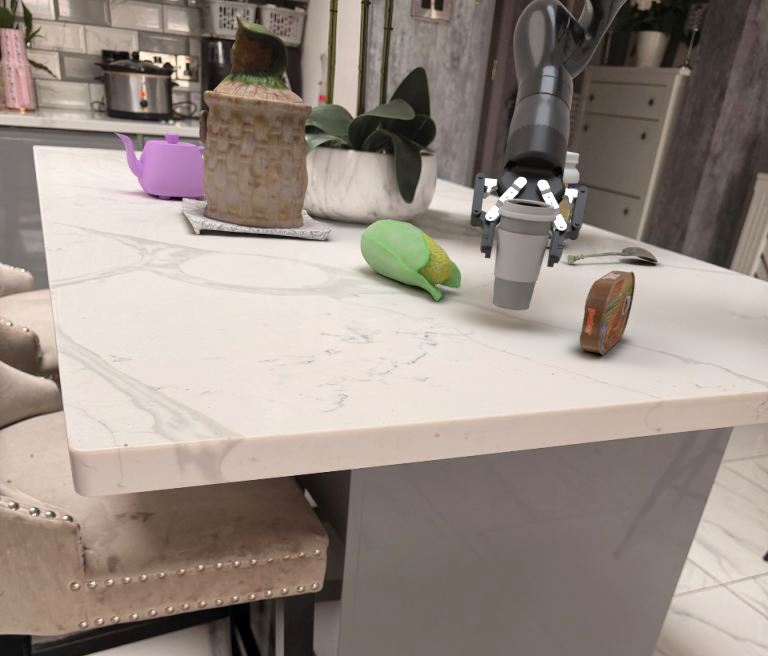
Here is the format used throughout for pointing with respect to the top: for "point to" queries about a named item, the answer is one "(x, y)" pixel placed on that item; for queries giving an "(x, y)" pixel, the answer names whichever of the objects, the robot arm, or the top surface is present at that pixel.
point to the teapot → (168, 167)
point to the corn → (408, 256)
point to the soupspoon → (618, 254)
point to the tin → (607, 311)
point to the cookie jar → (254, 146)
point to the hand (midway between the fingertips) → (519, 258)
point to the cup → (520, 251)
